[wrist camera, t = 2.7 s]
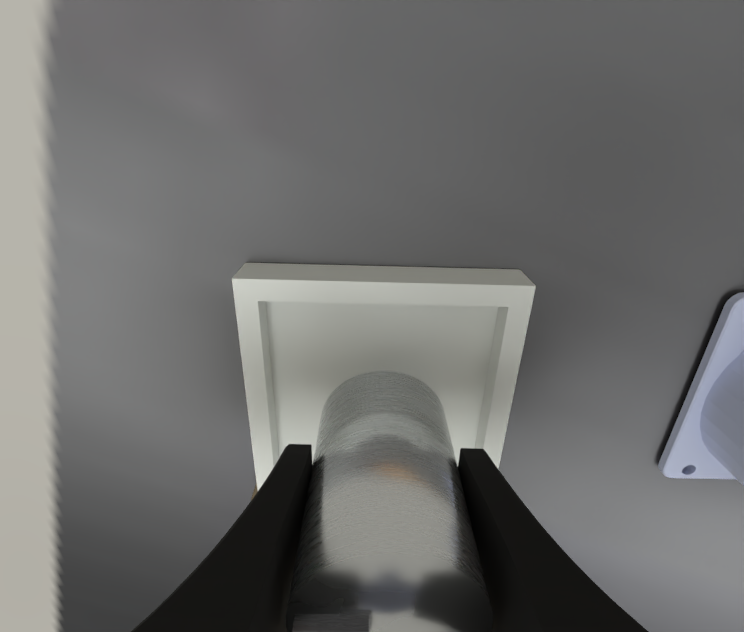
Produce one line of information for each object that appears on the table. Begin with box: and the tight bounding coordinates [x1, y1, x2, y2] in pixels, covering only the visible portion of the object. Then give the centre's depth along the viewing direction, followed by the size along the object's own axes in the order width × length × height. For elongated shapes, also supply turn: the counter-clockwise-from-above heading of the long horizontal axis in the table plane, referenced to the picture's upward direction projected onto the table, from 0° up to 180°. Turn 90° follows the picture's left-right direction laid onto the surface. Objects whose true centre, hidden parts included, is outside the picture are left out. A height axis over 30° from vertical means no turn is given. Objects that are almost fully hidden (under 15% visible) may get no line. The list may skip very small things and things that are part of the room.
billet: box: [286, 371, 493, 632], centre depth 11 cm, size 4×4×6 cm
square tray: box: [232, 263, 536, 490], centre depth 15 cm, size 9×9×2 cm
